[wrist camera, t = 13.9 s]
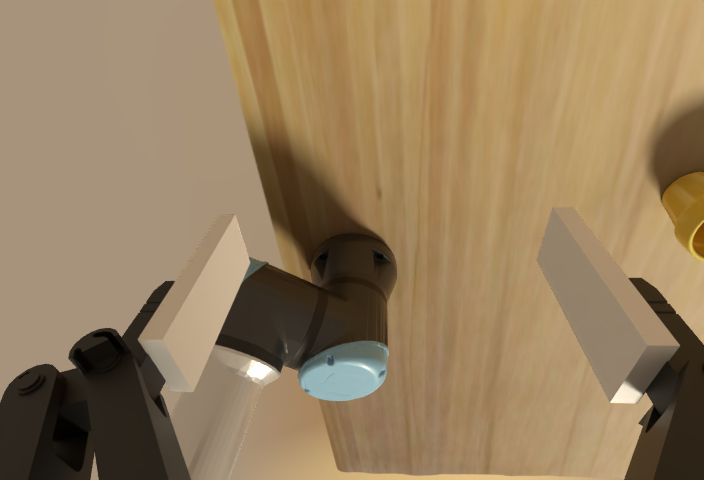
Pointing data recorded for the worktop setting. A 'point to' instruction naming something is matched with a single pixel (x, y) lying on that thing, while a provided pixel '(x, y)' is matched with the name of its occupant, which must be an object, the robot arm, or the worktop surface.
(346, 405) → the worktop surface
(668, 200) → the plant pot
